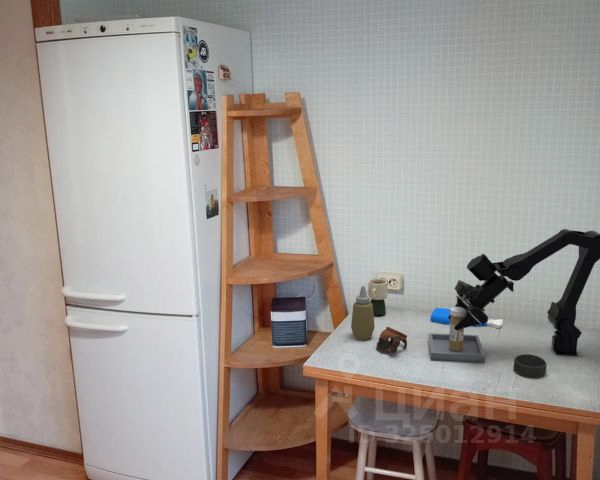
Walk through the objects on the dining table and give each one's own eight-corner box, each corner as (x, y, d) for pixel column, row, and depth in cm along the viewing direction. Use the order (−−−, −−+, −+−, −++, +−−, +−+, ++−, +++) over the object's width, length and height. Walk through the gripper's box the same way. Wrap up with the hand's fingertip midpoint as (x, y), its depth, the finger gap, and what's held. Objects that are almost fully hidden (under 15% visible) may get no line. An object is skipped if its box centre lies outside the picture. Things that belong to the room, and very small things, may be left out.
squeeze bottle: (347, 339, 198) (347, 289, 194) (354, 331, 205) (354, 282, 201) (371, 343, 195) (371, 291, 191) (377, 334, 202) (377, 284, 198)
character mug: (373, 308, 227) (373, 276, 224) (391, 310, 224) (391, 278, 221) (363, 317, 218) (363, 284, 215) (381, 320, 215) (382, 286, 212)
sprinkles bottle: (465, 351, 185) (467, 310, 182) (451, 351, 185) (453, 311, 182) (459, 345, 190) (462, 306, 187) (446, 346, 189) (448, 306, 186)
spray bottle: (429, 315, 211) (501, 325, 202) (435, 306, 221) (503, 315, 212) (429, 323, 212) (500, 333, 203) (435, 313, 222) (503, 322, 212)
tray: (477, 342, 194) (478, 335, 193) (484, 363, 178) (485, 355, 178) (428, 340, 196) (428, 333, 196) (430, 360, 181) (431, 352, 180)
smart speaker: (508, 373, 172) (509, 360, 171) (520, 363, 178) (521, 350, 177) (539, 382, 166) (540, 369, 165) (550, 371, 173) (551, 358, 172)
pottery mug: (370, 346, 193) (380, 323, 194) (396, 357, 194) (406, 334, 195) (380, 352, 181) (390, 327, 182) (407, 364, 182) (417, 339, 183)
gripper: (464, 264, 190) (429, 297, 193) (479, 282, 172) (440, 317, 175) (487, 287, 192) (452, 319, 195) (504, 307, 173) (465, 342, 177)
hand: (452, 323), depth 185 cm, fingers open, 9 cm apart
